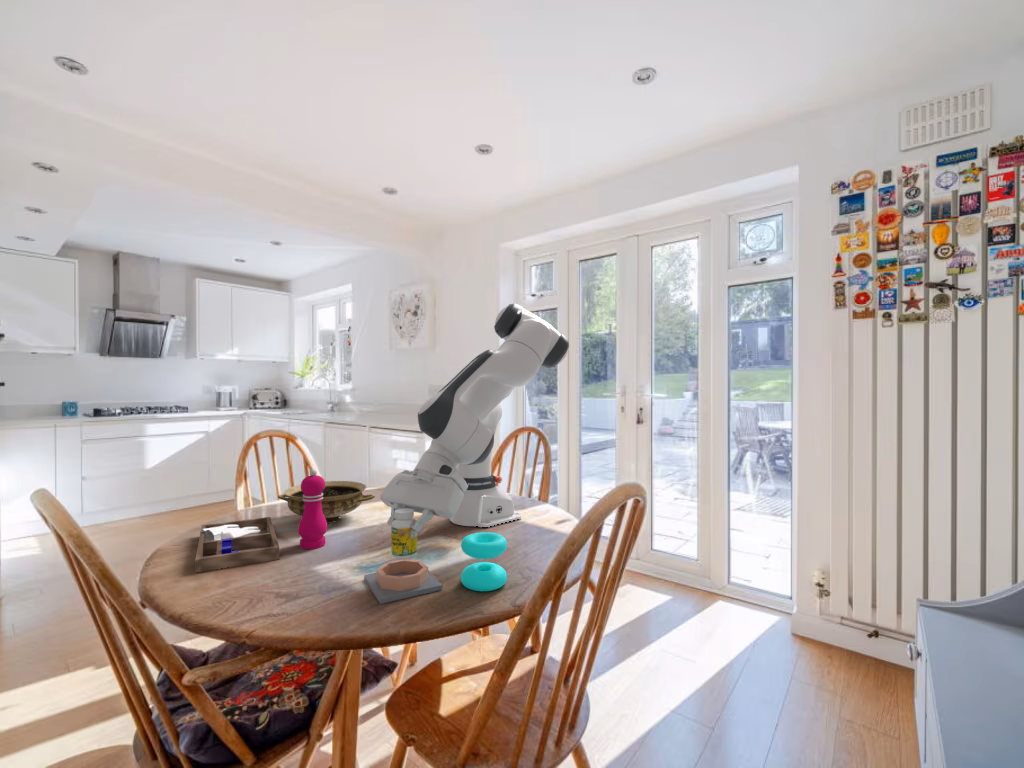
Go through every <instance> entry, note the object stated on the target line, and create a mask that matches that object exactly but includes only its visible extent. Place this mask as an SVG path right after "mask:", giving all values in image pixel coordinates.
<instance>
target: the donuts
mask: <svg viewBox="0 0 1024 768" xmlns="http://www.w3.org/2000/svg"><path fill="white" fill-rule="evenodd" d="M507 548H508V541H507V539H506V538H505V537H504V536H503V535H501V534H499V533H495V532H492V531H490V532H489V531H480V532H474V533H471V534H470V533H469V534H468V535H466V536H464V537H463V538H462V540H461V542H460V549H461V550H462V552H463V553H464V554H465V555H467V556H468V557H471V558H473V559H478V560H490V559H495V558H497V557H499V556H501V555H502V554H504V553H505V552H506V550H507ZM460 580H461V583H462V585H463V586H464V587H465V588H467V589H469V590H471V591H476V592H491V591H495V590H497V589H498V590H499V589H500V588H502V587H503V586H504V585H505V584H506V582H507V580H508V575H507V572H506V570H505V569H504V567H502V566H501V565H499V564H498V563H493V562H490V561H479V562H474V563H472V564H469V565H467V566H466V567H465V568H463V570H462V571H461V574H460Z"/></svg>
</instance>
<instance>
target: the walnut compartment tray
mask: <svg viewBox="0 0 1024 768" xmlns="http://www.w3.org/2000/svg"><path fill="white" fill-rule="evenodd" d="M223 525H239V528H244V527H258V528H259V529H258V530H263V528H265V529H266V531H268V532H265V533H259V534H256V535H249V536H242V537H235V538H231V550H234V551H237V550H241V551H239V552H234V553H228V554H222V539H220V540H213V541H206V542H205V532H201V531H200V532H199V537H198V542H197V548H196V554H195V559H194V563H195V565H194V567H195V568H194V571H195V574H198V573H197V572H199V573H203V572H202V571H205V572H210V570H211V571H216V569H217V570H222V569H221V568H223V569H228V568H227V567H229V568H234V567H233V566H235V567H240V566H248V565H253V564H260V563H265V562H271V561H276V560H280V545H279V542H278V538H277V535H276V532H275V527H274V525H273V522H272V518H271V516H264V517H257V518H249V519H242V520H233V521H232V520H231V521H226V522H224V521H223V522H215V523H210V524H209V523H208V524H202V525H201V527H200V530H201V529H206V528H213V527H220V526H223ZM266 546H267V547H266ZM268 546H269V547H268ZM258 547H259V548H258ZM253 548H254V549H253ZM255 548H256V549H255ZM247 549H248V550H247ZM213 553H214V554H215V555H214V554H213ZM205 554H207V555H210V556H205Z"/></svg>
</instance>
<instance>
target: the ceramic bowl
mask: <svg viewBox="0 0 1024 768" xmlns="http://www.w3.org/2000/svg"><path fill="white" fill-rule="evenodd" d="M324 481H325V480H324ZM366 489H367V485H366V484H364V483H362V482H359V481H358V482H357V481H351V480H329V481H328V480H327V481H325V488H324V490H323V491H322V493H323V499H322V501H321V507H322V512H323V514H324V517H325V519H326V522H327V524H332V523H335V521H336V522H338V521H339V519H340V520H341V517H340V516H344V515H347V514H348V513H351V512H352V511H355V510H356V509H357V508H359V506H361V504H362V503H363V502H367V501H371V500H372V499H374V498H375V497H376V495H375V494H373V493H372V494H363V492H364V491H365V490H366ZM303 495H304V493H303V492H302V490H301V483H300V484H297V485H293V486H291V487H289V488H287V489H285V490H284V491H283V493H282V494H278V495H277V499H280V500H282V501H285V502H287V507H288V509H289V510H290V511H291V512H292V513H293V514H295V515H297V516H301V517H302V516H303V513H304V507H305V503H304V501H303Z"/></svg>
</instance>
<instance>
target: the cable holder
mask: <svg viewBox="0 0 1024 768" xmlns="http://www.w3.org/2000/svg"><path fill="white" fill-rule="evenodd" d="M234 552H240V551H239V550H234V551H231V538H227V539H222V554H228V553H234Z"/></svg>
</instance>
